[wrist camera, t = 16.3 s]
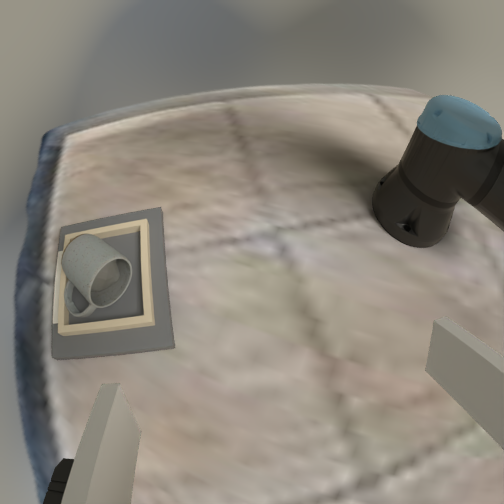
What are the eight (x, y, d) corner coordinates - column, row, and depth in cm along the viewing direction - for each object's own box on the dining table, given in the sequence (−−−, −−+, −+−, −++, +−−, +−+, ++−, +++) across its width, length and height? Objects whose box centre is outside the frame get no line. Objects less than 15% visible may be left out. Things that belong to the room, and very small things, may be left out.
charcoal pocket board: (162, 212, 49) (159, 201, 47) (175, 348, 39) (170, 342, 36) (65, 232, 47) (57, 222, 45) (57, 360, 36) (46, 355, 34)
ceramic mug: (103, 247, 44) (83, 217, 37) (139, 275, 42) (121, 247, 35) (59, 299, 40) (32, 276, 33) (92, 333, 38) (65, 314, 31)
